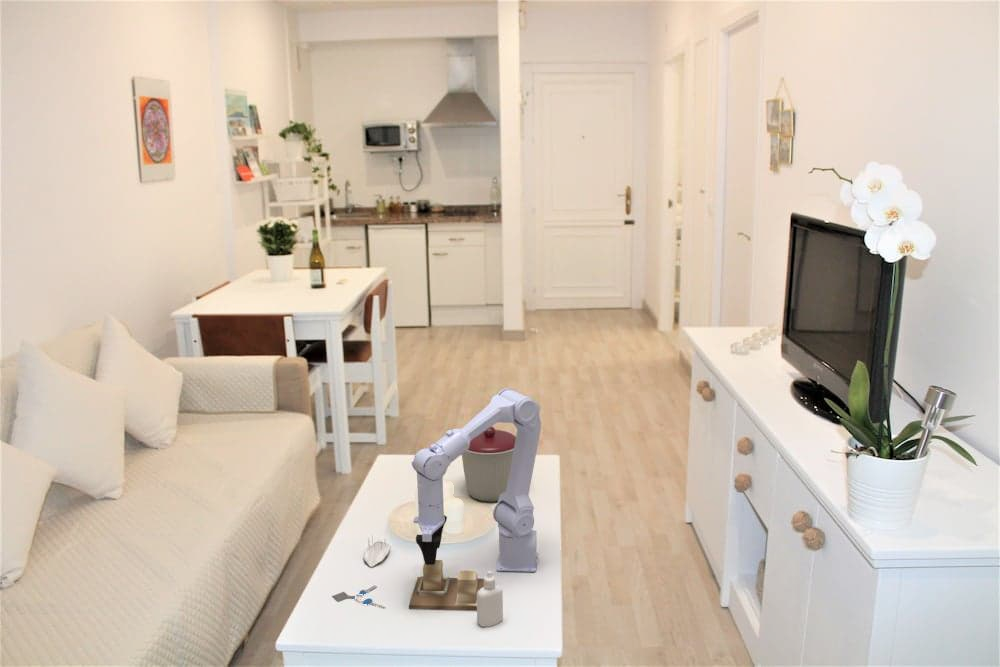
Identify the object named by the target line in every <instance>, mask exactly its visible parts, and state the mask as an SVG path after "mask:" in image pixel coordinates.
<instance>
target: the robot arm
mask: <svg viewBox="0 0 1000 667" xmlns="http://www.w3.org/2000/svg"><path fill="white" fill-rule="evenodd" d="M540 412H541V406H540V405H539V403H538V402H537V401H536V400H535V399H534V398H532V397H529V396H526V395H524V394H522V393H520V392H517V391H516V390H514V389H512V388H509V387H507V388H503V389H501V390H500V391H499V392H497V394H495V395H493V396H492V398H491V400H490V401H489V403H488V405H487V406H485V407H484V408H483V409H482V410H481V411H480V412H479V413H477V415H475V416H474V417H473V418H472V419H471V420H469V422H467V424H465V425H464V426H463V427H462V428H453V429H449V430H447V431H446V432H445V435H443V436H442V437H441V438H439V440H437V441H436V442H434V443H432V444H431V445H429V447H426V448H422V449H420V450H419V451H417V452H416V454H414V458H413V460H412V461H411V466H412V469H413V470H414V471H415V472H416V480H417V503H418V504H417V505H418V508H417V509H418V511H417V512H418V516H414V518H413V524H418V526H419V529H420V530H421V534H416V537H415V542H416V544H417V545H418V547H419V549H420V550H421V554H422V557H423V561H424V563H425V564H426V565H434V564H435V561H436V560H437V553H438V549H440V546H441V543H442V542H441V541H442V537H443V536H442V535H443V530H444V527H445V524H446V523H447V518H448V516H446V515H445V514H444V513H445V512H444V509H445V508H444V484H443V483H444V482H443V481H444V479H443V478H444V476H445V474H446V473H447V471H448V468H449V467H450V466H451V464H452V463H453V462H454V461H455V460H456V459H457V458H459V457H460V456H462V454H463V453H464V452H465V451H466V450H468V449H469V447H470V441H471V440H472V439H474V438H475V437H477V436H478V435H480V434H481V433H483V432H484V431H485V430H487V429H488V428H490V427H491V426H492V427H493V426H494V425H496V424H497V423H506V424H507V423H508V424H510V423H511V424H513V426H515V428H516V429H517V431H516V435H515V436H516V440H515V446H514V451H513V457H512V462H511V468H510V473H509V479H508V484H507V490H506V491H505V492H503V493H502V494H500V495H499V500H498V501H496V502H497V503H496V504H495V506H494V508H493V512H492V516H493V520H494V521H495V522H496V523H497V527H498V552H499V553H498V557H497V564H496V571H497V572H517V573H518V572H519V573H521V572H524V573H525V572H526V573H533V572H534V573H535V572H536V571H537V560H538V556H539V554H538V552H537V530H534V529H533V528H534V525H535V517H534V509H535V507H534V504H533V502H532V501H531V498H530V495H529V494H530V488H531V482H532V479H533V472H534V467H535V462H536V456H537V451H538V445H539V439H540V437H541V436H540V435H541V429H542V421H541V418H540V416H541V415H540Z"/></svg>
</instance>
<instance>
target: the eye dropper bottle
mask: <svg viewBox="0 0 1000 667" xmlns="http://www.w3.org/2000/svg"><path fill="white" fill-rule="evenodd" d="M483 579H484V587H482V588H481V589H480V590H479V591H478V592H477V611H476V622H477V623H478V625H479V626H480V627H482V628H487V627H493V626H495V625H498V624H499V623H501V622H502V621H503V620H504V619H503V618H504V602H503V601H504V600H503V597H504V596H503V588H501V587H500V586H499V585H498V584H496V578H495V575H492V571H489V570H488V571H487V573H486V575H485V576H484V577H483Z"/></svg>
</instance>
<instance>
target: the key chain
mask: <svg viewBox="0 0 1000 667" xmlns="http://www.w3.org/2000/svg"><path fill="white" fill-rule="evenodd" d="M375 589H377V585H374V584H373V585H372V586H371V587H369V588H367V589H361V590H360V591H359V593H358V594H356V597H357V598H356V597H355V595H349V594H347V593H346V592H345V591H342V592H338V593H336V594H334V595H331V597H332V598H333V599H334V600H335V602H337V603H339V602H343V601H345V600H348V599H349V600H353V599H354V600H353V601H357V602H359V603H362V605H363V604H367V606H369V605H370V604H372V605H371V606H374V605H375V606H374V607H376V605H377V606H379V607H378V608H380V607H381V609H384V608H385V609H386V607H385V606H384V605H382V604H377V603H374V602H373V599H372V598H366V599H364V600H358V598H361V597H362V598H363V596H365V595H364V594H366V593H368V594H369V592H368V591H370V592H371V591H373V590H375ZM359 594H363V595H359ZM357 595H359V596H360V597H359V596H357ZM368 604H369V605H368Z"/></svg>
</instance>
